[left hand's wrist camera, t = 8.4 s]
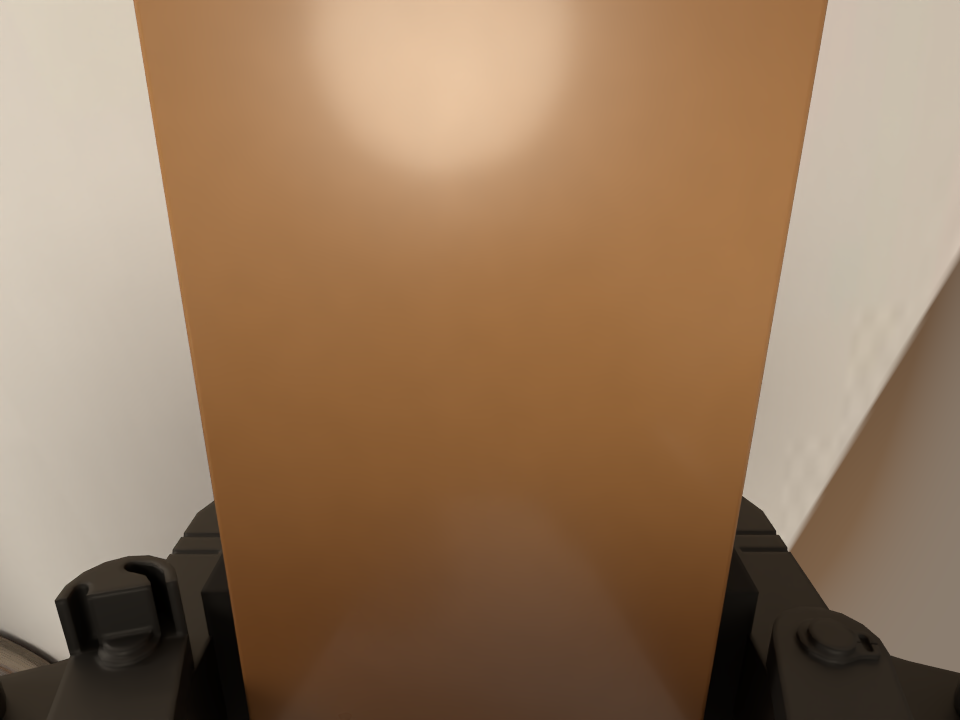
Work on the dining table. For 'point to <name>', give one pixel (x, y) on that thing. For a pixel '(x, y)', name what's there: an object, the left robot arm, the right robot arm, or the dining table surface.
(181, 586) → the left robot arm
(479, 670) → the post
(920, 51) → the dining table surface
